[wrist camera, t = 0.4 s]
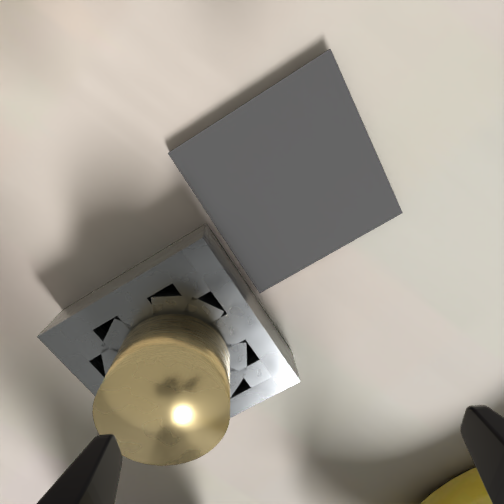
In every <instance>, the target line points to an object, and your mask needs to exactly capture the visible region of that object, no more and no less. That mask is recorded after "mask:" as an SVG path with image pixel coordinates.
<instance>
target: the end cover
mask: <svg viewBox="0 0 504 504" xmlns="http://www.w3.org/2000/svg"><path fill="white" fill-rule="evenodd" d="M93 420H94V423H95V426H96V429H97V431H98V433H99V434H100V435H104V434H113V435H114V436H115V437H116V440H117V443H118V445H119V448H120V451H121V454H122V455H123V456H125V457H126V458H129V459H131V460H134V461H137V462H140V463H144V464H150V465H160V466H163V465H177V464H182V463H186V462H189V461H192V460H195V459H197V458H199V457H201V456H203V455H204V454H206V453H208V452H209V451H210V450H212V449H213V448H214V447H215V446H216V445H217V444H218V443H219V442H220V440H221V439H222V438H223V436H224V434H225V433H226V430H227V428H228V425H229V420H230V355H229V351H228V347H227V345H226V343H225V341H224V339H223V338H222V336H221V335H220V334H219V333H218V332H217V331H216V330H215V329H214V328H213V327H212V326H210V325H209V324H207V323H206V322H204V321H202V320H200V319H197V318H194V317H191V316H187V315H181V314H165V315H159V316H155V317H152V318H149V319H147V320H145V321H143V322H141V323H140V324H138V325H137V326H136V327H134V328H133V329H132V330H131V331H130V332H129V334H128V335H127V336H126V338H125V339H124V341H123V343H122V345H121V347H120V349H119V351H118V353H117V355H116V357H115V358H114V360H113V362H112V364H111V366H110V368H109V370H108V372H107V374H106V376H105V378H104V380H103V382H102V384H101V386H100V388H99V389H98V391H97V394H96V396H95V399H94V403H93Z"/></svg>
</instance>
